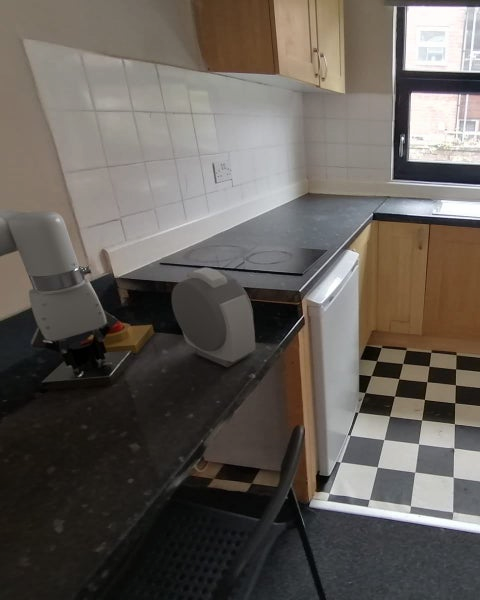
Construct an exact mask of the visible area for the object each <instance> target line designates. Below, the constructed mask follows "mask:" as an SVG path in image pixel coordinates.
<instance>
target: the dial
mask: <svg viewBox="0 0 480 600" xmlns="http://www.w3.org/2000/svg"><path fill="white" fill-rule="evenodd" d="M68 348H69V349H70V350H71V352H72V354H73V356H74V359H75V361H76V364H77V367H78V368H77V369H78V370H88V369H92V368H94V367H96V366H98V365H99V364H100V363H101V361H100V358H99V355H98V352H97V349H96V346H95V344H94V341H93V339H88V338H85V339H79V340H77V341H74V342H72V343H71V344H70V345H69V347H68Z"/></svg>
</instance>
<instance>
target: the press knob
mask: <svg viewBox="0 0 480 600" xmlns="http://www.w3.org/2000/svg"><path fill="white" fill-rule="evenodd" d="M122 323H123V322H122V321H121V320H118V322H117V323H116V324H115V325H114V326H113V327H112V328H111V329H110V331H109V332H108V333H107V334H113V333H117V332H120V331H122V330H123V326H122Z"/></svg>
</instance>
